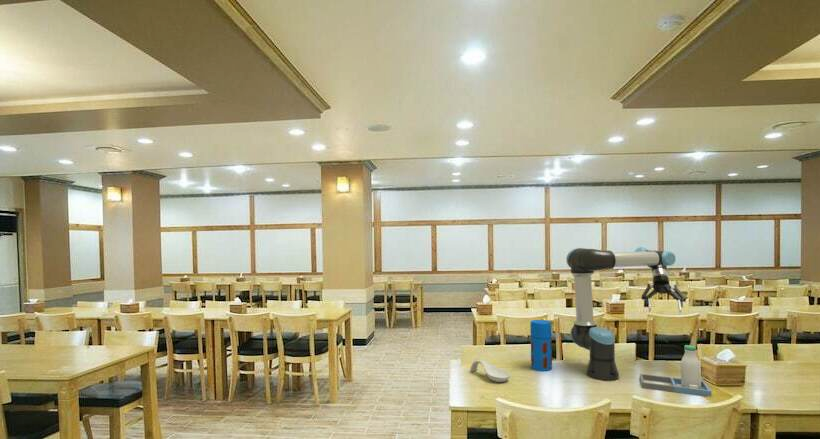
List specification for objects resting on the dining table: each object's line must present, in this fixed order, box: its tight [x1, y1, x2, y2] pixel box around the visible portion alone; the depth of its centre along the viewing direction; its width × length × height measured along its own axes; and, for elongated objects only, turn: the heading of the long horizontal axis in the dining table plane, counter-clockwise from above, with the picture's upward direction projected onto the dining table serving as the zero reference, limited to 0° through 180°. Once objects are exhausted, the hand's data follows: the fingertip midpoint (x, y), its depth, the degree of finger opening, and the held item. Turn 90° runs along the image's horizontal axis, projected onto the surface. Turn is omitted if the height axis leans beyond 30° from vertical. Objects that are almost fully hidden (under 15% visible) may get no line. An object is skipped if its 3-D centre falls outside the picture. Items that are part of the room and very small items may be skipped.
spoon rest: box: [469, 359, 511, 383], centre depth 214 cm, size 24×12×7 cm, turn 36°
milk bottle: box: [680, 344, 702, 389], centre depth 195 cm, size 8×8×20 cm
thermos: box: [529, 319, 553, 372], centre depth 227 cm, size 11×11×25 cm
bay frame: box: [639, 373, 712, 397], centre depth 198 cm, size 27×14×4 cm, turn 65°
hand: (664, 310), depth 217 cm, fingers open, 13 cm apart
